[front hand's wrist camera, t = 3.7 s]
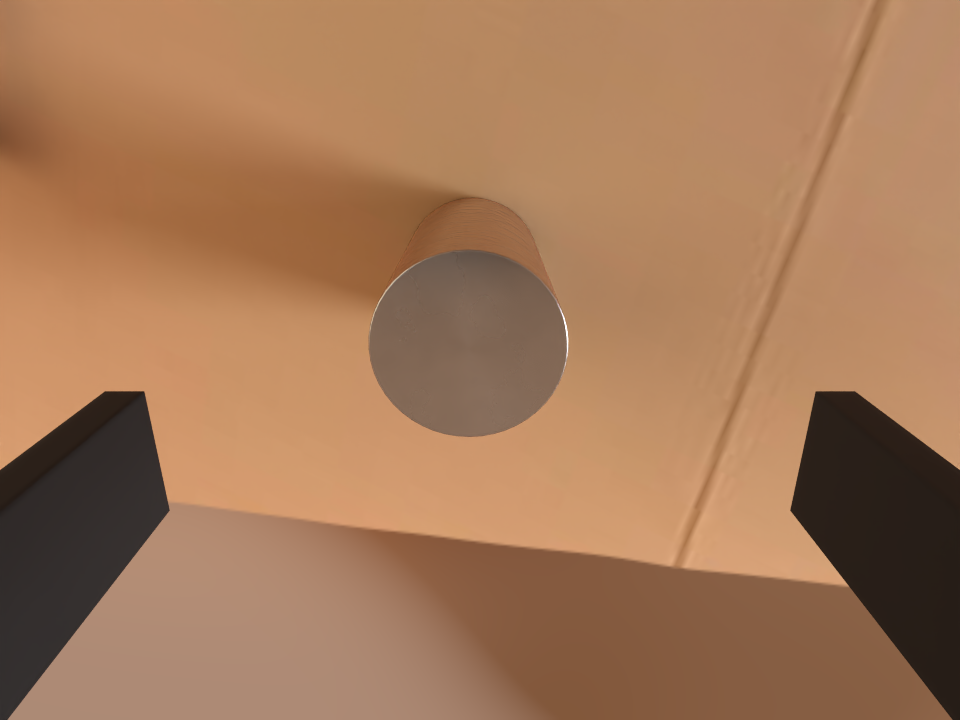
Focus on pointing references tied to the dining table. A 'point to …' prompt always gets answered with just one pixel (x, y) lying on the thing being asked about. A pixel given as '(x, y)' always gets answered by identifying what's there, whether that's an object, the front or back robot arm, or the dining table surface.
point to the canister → (469, 323)
